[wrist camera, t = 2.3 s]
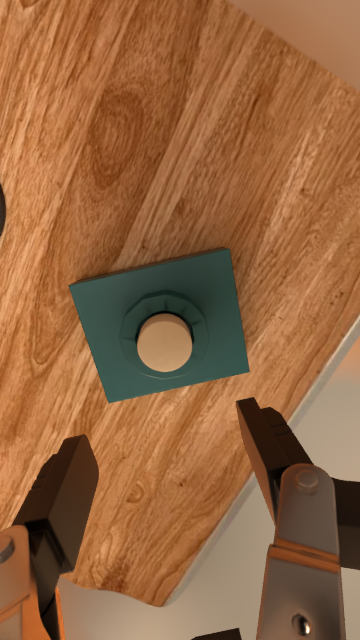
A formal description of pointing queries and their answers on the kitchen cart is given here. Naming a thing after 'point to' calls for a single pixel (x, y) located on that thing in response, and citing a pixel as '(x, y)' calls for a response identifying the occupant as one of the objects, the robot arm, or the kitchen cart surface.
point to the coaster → (2, 211)
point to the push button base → (157, 298)
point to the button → (164, 342)
